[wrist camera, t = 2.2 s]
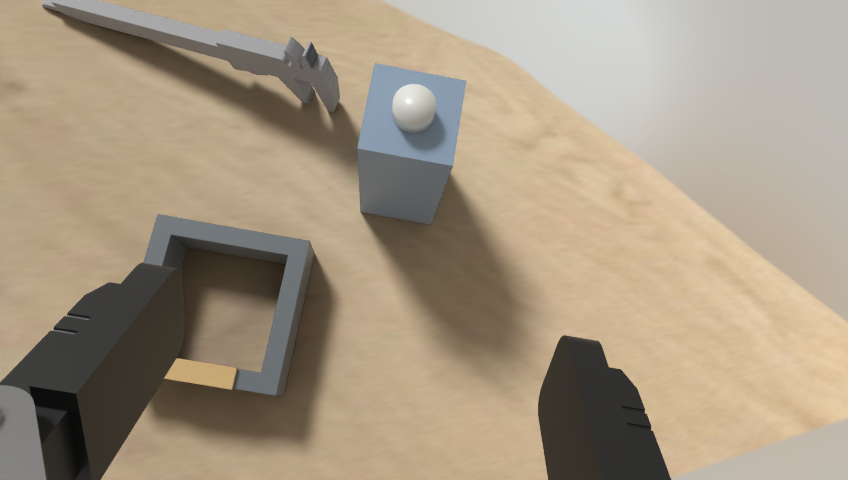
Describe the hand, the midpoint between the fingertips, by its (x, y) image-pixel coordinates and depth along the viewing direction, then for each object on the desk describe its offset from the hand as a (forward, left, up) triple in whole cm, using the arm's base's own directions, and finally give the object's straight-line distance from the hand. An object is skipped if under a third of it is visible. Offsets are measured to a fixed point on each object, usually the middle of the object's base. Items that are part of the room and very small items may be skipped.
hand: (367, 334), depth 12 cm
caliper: (-6, +23, -23) cm, 33 cm away
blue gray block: (+5, +11, -23) cm, 25 cm away
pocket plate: (-7, +6, -23) cm, 24 cm away
